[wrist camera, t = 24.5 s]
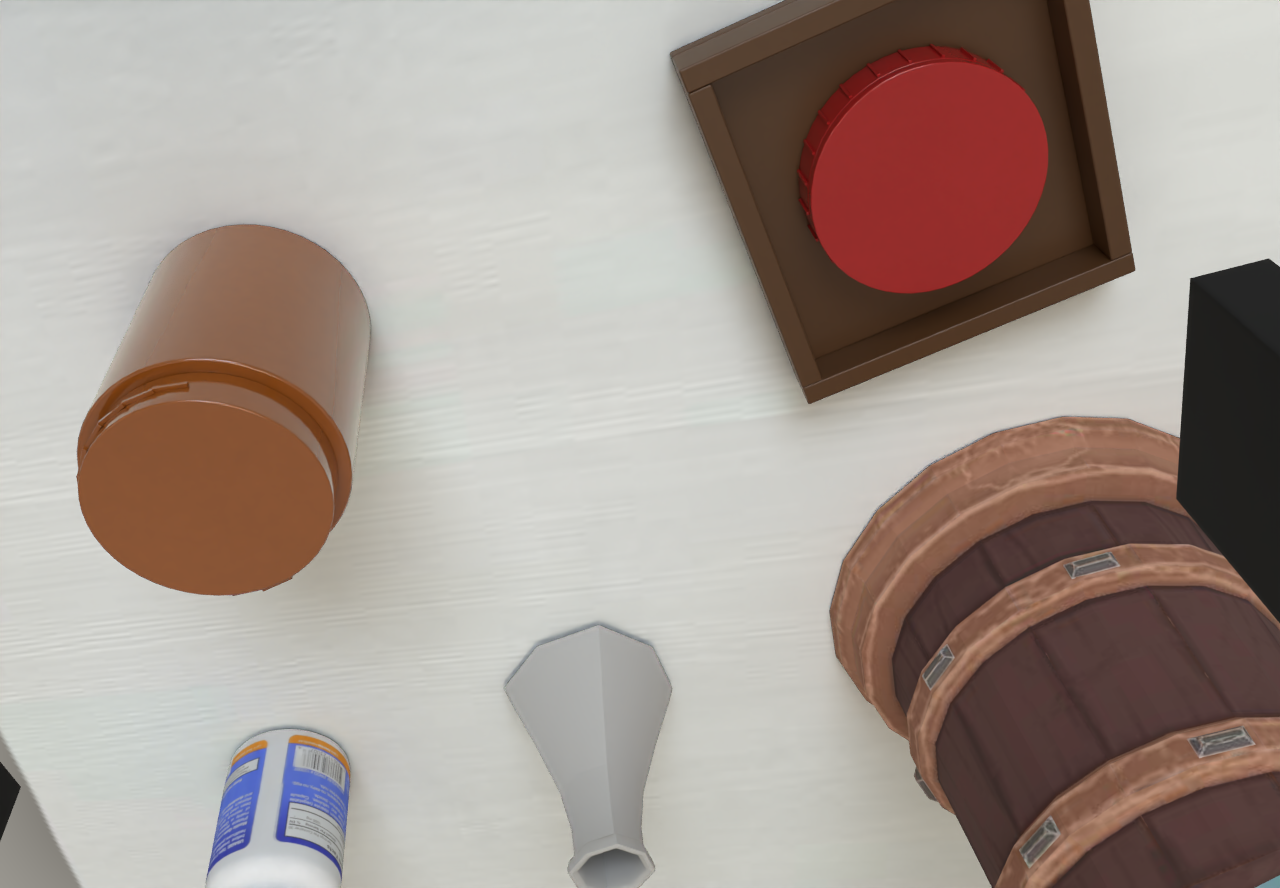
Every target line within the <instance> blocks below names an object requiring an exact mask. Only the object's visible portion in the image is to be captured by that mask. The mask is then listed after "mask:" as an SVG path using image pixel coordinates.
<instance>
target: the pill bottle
mask: <svg viewBox="0 0 1280 888" xmlns="http://www.w3.org/2000/svg"><path fill="white" fill-rule="evenodd" d="M349 787H350V765H349V761H348V759H347V756H346V754H345V753H344V751H343V750H342V749H341V748H340V746H339V745H337V744H336V743H335V742H334V741H332V740H331V739H329V738H327V737H325V736H323V735H320V734H317V733H314V732H311V731H305V730H298V729H280V730H273V731H268V732H265V733H262V734H259V735H257V736H255V737H253V738H251V739H249V740H248V741H247V742H245V743H244V744H243V745H242V746H241V747H240V748H239V749H238V750H237V751H236V752H235V754H234V755H233V758H232V760H231V762H230V765H229V768H228V772H227V777H226V782H225V787H224V791H223V796H222V801H221V807H220V812H219V817H218V822H217V827H216V833H215V838H214V843H213V848H212V854H211V858H210V863H209V868H208V873H207V878H206V885H205V888H341V880H342V869H343V857H344V847H345V835H346V822H347V811H348V799H349Z"/></svg>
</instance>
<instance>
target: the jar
mask: <svg viewBox="0 0 1280 888" xmlns="http://www.w3.org/2000/svg"><path fill="white" fill-rule="evenodd" d="M370 334H371V328H370V317H369V313H368V308H367V305H366V302H365V300H364V297H363V294H362V292H361V291H360V289H359V287H358V285H357V283H356V282H355V280H354V279H353V278H352V276H351V275H350V273H349V272H348V271H347V270H346V269H345V268H344V266H343V265H342V264H341V263H340V262H339V261H338V260H337V259H335V258H334V257H333V256H332V255H331V254H329V253H328V252H327V251H326V250H324V249H323V248H321V247H320V246H318V245H317V244H315V243H313V242H311V241H309V240H308V239H306V238H304V237H302V236H299V235H297V234H294V233H291V232H289V231H286V230H282V229H278V228H274V227H269V226H261V225H231V226H223V227H219V228H215V229H211V230H208V231H205V232H202V233H200V234H197V235H195V236H193V237H191V238H189V239H188V240H186V241H184V242H183V243H181V244H180V245H179V246H177V247H176V248H175V249H173V250H172V251H171V252H170V253H169V254H168V255H167V256H166V257H165V258H164V259H163V261H162V262H161V263H160V265H159V266H158V268H157V269H156V271H155V273H154V275H153V277H152V279H151V281H150V283H149V285H148V287H147V289H146V291H145V293H144V296H143V298H142V300H141V302H140V304H139V306H138V308H137V310H136V312H135V314H134V317H133V319H132V321H131V323H130V325H129V327H128V329H127V331H126V333H125V335H124V337H123V340H122V342H121V344H120V346H119V348H118V350H117V352H116V354H115V356H114V358H113V361H112V363H111V365H110V367H109V369H108V371H107V373H106V375H105V377H104V379H103V382H102V384H101V386H100V388H99V390H98V392H97V394H96V396H95V398H94V400H93V403H92V405H91V407H90V409H89V411H88V413H87V415H86V417H85V419H84V421H83V424H82V427H81V430H80V434H79V437H78V446H77V461H78V474H77V476H76V477H77V483H78V495H79V502H80V506H81V510H82V513H83V516H84V518H85V521H86V523H87V525H88V527H89V529H90V530H91V532H92V533H93V535H94V537H95V538H96V539H97V541H98V542H99V543H100V544H101V546H102V547H103V548H104V549H105V550H106V551H107V552H108V553H109V554H110V555H111V556H112V557H113V558H114V559H116V560H117V561H118V562H120V563H121V564H122V565H123V566H125V567H126V568H128V569H129V570H131V571H133V572H134V573H136V574H138V575H139V576H141V577H143V578H145V579H147V580H150V581H152V582H154V583H156V584H159V585H162V586H165V587H168V588H171V589H175V590H179V591H183V592H188V593H194V594H201V595H233V596H235V595H240V594H244V593H249V592H254V591H259V590H263V591H266V590H268V589H270V588H272V587H275V586H277V585H279V584H281V583H284V582H286V581H288V580H290V579H292V577H293V575H295V574H296V573H298V572H299V571H300V570H302V569H303V568H304V567H305V566H306V565H307V564H309V563H310V562H311V561H312V559H313V558H314V557H315V556H316V555H317V554H318V553H319V551H320V550H321V548H322V547H323V545H324V543H325V542H326V540H327V537H328V535H329V533H330V531H331V530H332V529H333V528H334V527H335V526H336V524H337V523H338V521H339V520H340V518H341V516H342V515H343V513H344V511H345V508H346V506H347V504H348V501H349V497H350V493H351V489H352V481H353V473H354V465H355V457H356V449H357V441H358V433H359V425H360V417H361V409H362V401H363V393H364V385H365V377H366V369H367V361H368V353H369V345H370Z"/></svg>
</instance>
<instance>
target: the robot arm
mask: <svg viewBox="0 0 1280 888" xmlns="http://www.w3.org/2000/svg"><path fill="white" fill-rule="evenodd" d="M1176 499H1177V501H1178V502H1179V503H1180V504H1181V505H1182V507H1183V508H1184V509H1185V510H1186V511H1187V513H1188V514H1189V515H1190V516H1191V517H1192V519H1193V520H1194V521H1195V522H1196V523H1197V525H1198V526H1199V527H1200V528H1201V529H1202V531H1203V532H1204V533H1205V534H1206V535H1207V537H1208V538H1209V539H1210V540H1211V541H1212V543H1213V544H1214V545H1215V546H1216V547H1217V549H1218V550H1219V551H1220V552H1221V553H1222V555H1223V556H1224V557H1225V558H1226V559H1227V561H1228V562H1229V563H1230V564H1231V565H1232V567H1233V568H1234V569H1235V570H1236V571H1237V573H1238V574H1239V575H1240V576H1241V577H1242V579H1243V580H1244V581H1245V582H1246V583H1247V585H1248V586H1249V587H1250V588H1251V590H1252V591H1253V592H1254V593H1255V594H1256V596H1257V597H1258V598H1259V599H1260V600H1261V602H1262V603H1263V604H1264V605H1265V606H1266V608H1267V609H1268V610H1269V611H1270V612H1271V614H1272V615H1273V616H1274V617H1275V618H1276V620H1277V621H1278V622H1279V623H1280V267H1279V266H1278V265H1277V264H1275V263H1274V262H1273V261H1271V260H1270V259H1265V260H1261V261H1257V262H1253V263H1249V264H1245V265H1242V266H1238V267H1234V268H1230V269H1226V270H1222V271H1218V272H1214V273H1210V274H1206V275H1202V276H1198V277H1194V278H1190V294H1189V309H1188V324H1187V339H1186V355H1185V370H1184V385H1183V401H1182V416H1181V431H1180V446H1179V462H1178V477H1177V492H1176ZM19 790H20V785H19V784H18V783H17V782H16V781H15V779H14V778H13V777H12V776H11V774H10V773H9V772H8V771H7V770H6V769H5V767H4V766H3V765H2V763H1V762H0V840H1V838H2V835H3V832H4V830H5V827H6V824H7V822H8V819H9V817H10V814H11V811H12V809H13V806H14V803H15V801H16V798H17V795H18V793H19Z"/></svg>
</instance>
